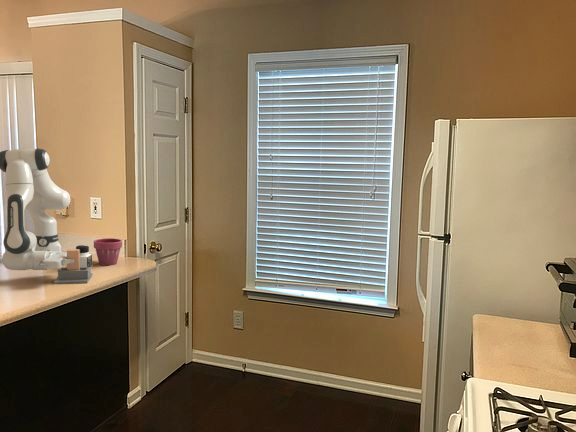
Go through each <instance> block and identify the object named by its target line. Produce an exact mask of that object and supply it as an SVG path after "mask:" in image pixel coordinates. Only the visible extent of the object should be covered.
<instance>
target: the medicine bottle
mask: <svg viewBox="0 0 576 432" xmlns="http://www.w3.org/2000/svg"><path fill="white" fill-rule="evenodd" d="M75 249H80V267H91V268H92V267H93V254H92V253H90V247H89V246H88V245H87V244H80V245H77V246H76V247H75Z"/></svg>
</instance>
